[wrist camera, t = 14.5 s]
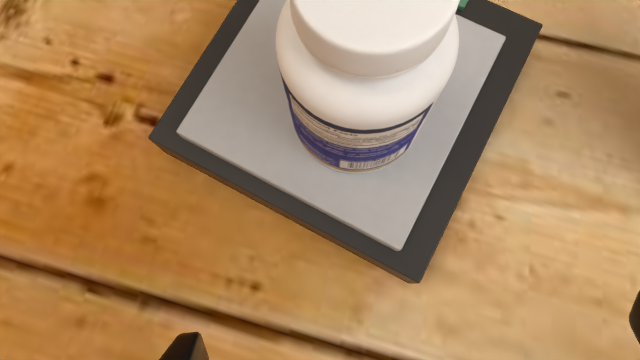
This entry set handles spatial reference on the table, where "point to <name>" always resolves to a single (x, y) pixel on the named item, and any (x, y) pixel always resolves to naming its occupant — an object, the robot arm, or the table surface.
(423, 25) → the pill bottle
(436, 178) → the kitchen scale
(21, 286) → the table surface
